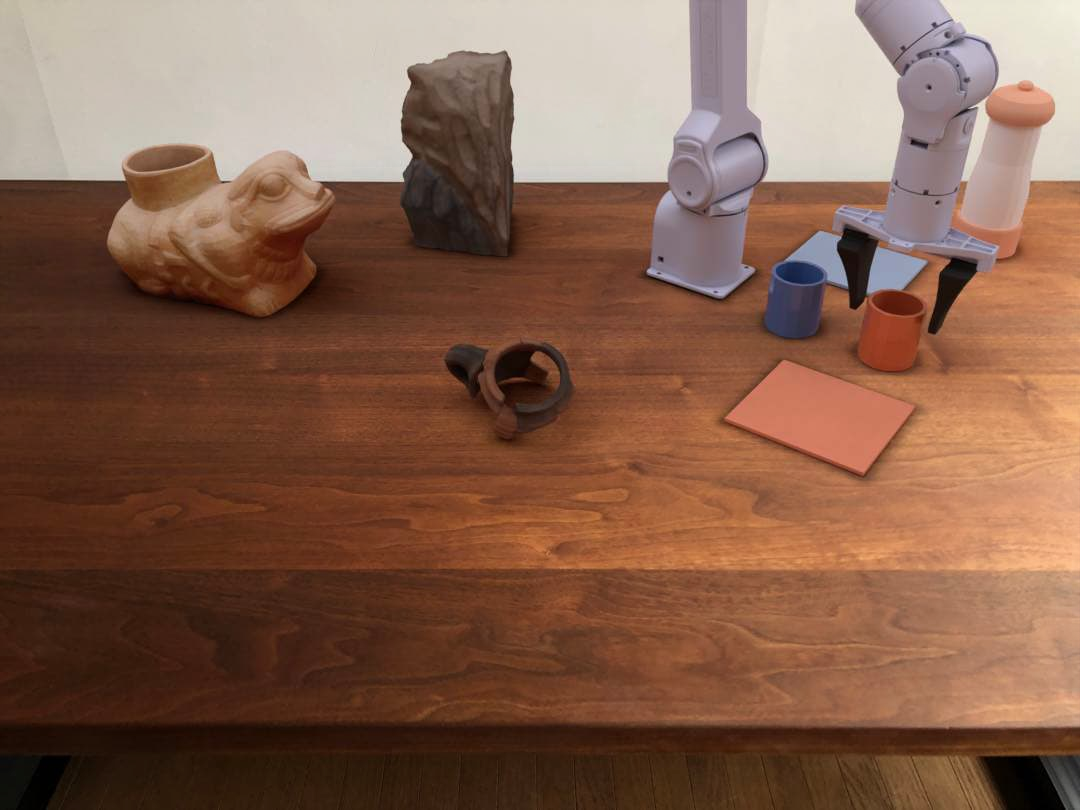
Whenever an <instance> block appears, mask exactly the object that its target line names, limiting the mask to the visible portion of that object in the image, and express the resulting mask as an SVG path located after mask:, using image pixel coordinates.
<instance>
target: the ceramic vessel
mask: <svg viewBox="0 0 1080 810" xmlns="http://www.w3.org/2000/svg"><path fill="white" fill-rule="evenodd" d="M121 170H122V174H123V176H124V180H125V183H126V184H127V187H128V189H129V193H130V197H131V198H129V199H128V200H127V201H126V202H125V203H124V204H123V205H122V206H121V207H120V209H119V210H118V211H117V213H116V214H115V217H114V219H113V222H112V225H111V227H110V230H109V232H108V236H107V238H106V239H107V240H106V245H107V246H106V247H107V250H108V252H109V254H110V256H111V258H112V259H114V260H115V263H116V264H117V265H118V267H119V268H120V269H121V270H122V272H124V274H126V275H127V276H128V277H129V278H130V279H131V280H132V282H134V283H135V285H136V286H137V287H138V289H139V290H140V291H142V292H144V293H147V294H149V295H151V296H152V297H153V296H154V297H155V298H160V299H172V300H175V301H176V300H177V301H179V302H196V303H197V304H201V305H214V306H216V307H220V308H222V309H223V308H224V309H228V310H230V311H234V312H237V313H241V314H244V315H246V316H249V317H252V318H265V317H269V316H271V315H274V314H275V313H276V312H278V311H279V310H282V309H283V308H284V307H286V306H288V305H289V304H290V303H291V302H293V301H294V300H295V299H297V298H298V297H299V296H300V295H301V294H303V293H302V292H304V290H306V288H307V287H308V286H309V284H311V282H312V281H313V280H314V278H316V275H317V273H318V272H317V270H318V269H317V265H316V264H315V262H313V260H312V259H311V258H310V257H309V255H308V254H307V252H306V251H305V249H304V245H305V242H306V240H307V238H308V236H309V235H312V234H313V233H315V232H317V231H319V230H320V228H321V227H322V226H323V224H324V222H325V221H326V220H327V218H328V216H329V215H330V213H331V211H332V210H333V207H334V205H335V202H336V197H335V194H334V193H333V192H332V190H331V189H329V188H326V187H325V186H324V185H323V184H322V183H321V182H318V181H314V180H312V179H311V177H310V175H309V172H308V171H309V170H308V168H307V165H306V162H305V161H304V160H303V159H302V158H301V157H300V156H298V155H297V154H295V153H293V152H291V151H290V150H285V149H281V150H276V151H272V152H270V153H268V154H266V155H264V156H262V157H260V158H259V159H257V160H255V161H254V162H253V163H251V164H250V165H248V166H247V167H246V168H245V169H244V170H243V171H241V173H240V174H239V175H238V176H236V178H234V179H233V180H231V181H230V182H222V181H221V179H220V176H219V174H218V169H217V165H216V162H215V157H214V153H213V151H212V150H211V149H210V148H209V147H207V146H205V145H200V144H196V143H183V142H173V143H172V142H171V143H164V144H155V145H154V144H153V145H149V146H145V147H142V148H140V149H136V150H135V151H132V152H131V153H129V154H127V155H126V156H125V157H124V158H123V160H122V162H121Z"/></svg>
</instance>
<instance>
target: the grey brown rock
mask: <svg viewBox="0 0 1080 810" xmlns="http://www.w3.org/2000/svg"><path fill="white" fill-rule="evenodd" d="M512 70H513V65H512V60H511V57H510V56H509V53H508V51H507V50H505V49H504V50H501V51H499V52H495V53H490V52H478V51H472V50H467V51H466V50H458V51H452V52H449V53H447V56H446V57H444V58H438V59H434V60H433V61H432V62H429V63H426V62H421V63H420V62H419V63H415V64H413V65H410V66H408V67H407V69H406V73H407V74H406V75H407V78H408V80H409V81H410V85H409V88H408V90H407V91H406V94H405V97H404V98H403V99H404V100H403V102H402V107H401V119H400V133H401V142H402V143H403V144H404V146H405V147H406V148H407V149H408V151H409V152H410V154H411V156H412V157H411V159H410V161H409V163H408V165H407V166H406V168H405V169H404V171H403V172H402V178H403V187H402V189H401V192H400V198H399V201H400V202H399V205H400V206H401V207H402V209H403V211H404V213H405V216H406V219H407V221H408V225H409V226H410V230H411V232H412V234H413V238H414V239H413V240H414V243H413V244H414V245H415V246H418V247H422V248H427V249H441V250H442V249H443V250H444V251H447V252H448V251H449V252H452V251H456V252H460V253H461V252H463V253H471V254H473V255H479V256H494V257H495V256H496V257H508V256H509V252H508V247H509V246H508V245H509V242H510V238H511V236H510V234H511V219H512V213H513V206H514V205H513V203H514V193H515V192H514V191H515V190H514V184H515V182H514V181H515V174H514V173H515V172H514V166H513V151H512V134H513V129H514V122H515V103H514V100H515V99H514V98H515V95H514V91H513V87H512V84H511V78H512V77H511V76H512Z"/></svg>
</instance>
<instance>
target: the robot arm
mask: <svg viewBox="0 0 1080 810" xmlns="http://www.w3.org/2000/svg"><path fill="white" fill-rule="evenodd" d="M854 14H855V16H856V17H857V18H858V20H859V21H860V22H861V24H862V25H863V27H864V28H865V29H866V31H867V32H868V34H869V35H870V37H871V38H872V40H873V41H874V42H875V44H876V45H877V46H878V48H879V49H880V51H881V52H882V53H883V55H884V56H885V58H886V59H887V60H888V61H889V63H890V65H891V66H892V68H893V69H894V71H896V73H897V74H898V75H899V76H900V77H898V78H897V80H896V92H897V97H898V100H899V103H900V105H901V107H902V111H903V120H902V124H901V133H900V137H899V141H898V146H897V151H896V155H895V161H894V165H893V171H892V176H891V180H890V184H889V190H888V193H887V194H888V195H887V199H886V203H885V209H884V210H877V209H876V210H875V209H868V208H867V209H866V208H859V207H855V206H849V205H845V204H843V205H841V206H840V207H839V208H838V209H837V210H836V211H834V215H833V222H832V227H831V231H832V232H836V233H839V234H842V235H841V239H840V240H839V241H838V242H837V252H838V254H839V256H840V258H841V261H842V264H843V266H844V270H845V273H846V277H847V283H848V289H847V290H848V302H849V303H848V304H849V305H848V308H849V309H851V310H854V311H857V310H858V308H860V307H861V306H862V305H863V304H864V303H865V300H866V298H867V297H866V296H867V295H866V293H867V288H868V282H869V275H870V269H871V265H872V262H873V258H874V255H875V251H876V248H877V247H878V245H879V241H880V242H884V243H886V244H887V248H888V250H891V251H894V252H898V253H901V254H910V253H911V252H917V253H919V252H920V253H923V254H927V255H930V256H934V257H937V258H941V259H944V260H948V261H949V263H948V264H946V265H944V267H943V268H942V269H941V270H940V272H939V274H938V283H937V289H936V290H937V291H936V298H935V303H934V307H933V310H932V313H931V315H930V319H929V323H928V327H927V333H928V334H930V335H936V334H937V333H938V332H939V331H940V330H941V328H942V327H943V325H944V322H945V319H946V317H947V315H948V313H949V311H950V310H951V308H952V307H953V304H954V303H955V301H956V299H957V298H958V297H959V295H960V294H961V292H962V291H963V290H964V289H965V287H966V286H967V285H968V284H969V282H970V281H971V280H972V279H973V278H974V277H975V275H976V274H977V273H978V272H979V273H983V274H986V275H987V274H989V273H990V272H991V270H993V268H994V267H995V265H996V261H997V259H996V258H997V255H998V251H999V246H996V245H993V244H990V243H987V242H984V241H982V240H979V239H977V238H975V237H972V236H970V235H968V234H966V233H963V232H961V231H959V230H957V229H954V228H953V226H951V223H952V219H953V215H954V211H955V207H956V202H957V199H958V194H959V191H960V186H961V183H962V178H963V174H964V171H965V167H966V162H967V159H968V154H969V150H970V147H971V143H972V138H973V132H974V128H975V124H976V122H977V121H976V120H977V116H978V113H979V107H978V106H976V105H978V104H980V103H981V102H983V101H984V100H985V99H986V98H988V97H989V95H990V94H991V93H992V92H993V91H994V90H995V89H996V86H997V83H998V80H999V75H1000V67H999V61H998V58H997V55H996V54H995V52H994V50H993V47H992V44H991V42H990V41H988V40H987V39H985V38H984V37H981V36H979V35H976V34H970V33H967V29H966V28H965V27H964V25H963V23H961V22H960V21H959V22H956V21H955V20H954V18H953V17H952V16H951V13H949V11H948V10H947V9H946V7H945V6H944V4H943V3H942V2H941V0H855V4H854ZM688 15H689V16H688V17H689V18H688V19H689V53H690V54H689V56H690V58H689V59H690V99H691V110H690V112H689V114H688V115H687V117H686V118H685V119H684V121H683V122H682V124H681V125H680V126H679V127H678V130H676V132H675V134H674V135H673V141H672V142H673V151H672V156H671V159H670V161H669V163H668V167H667V172H666V173H667V183H668V186H669V187H668V188H669V190H668V191H666V193H665V194H664V195H663V196H662V197H661V199H660V201H659V203H658V205H657V207H656V210H655V214H654V218H653V227H652V240H651V241H652V242H651V252H650V253H651V255H650V267H649V268H648V269H647V270H646V275H647V276H649V277H652V278H655V279H658V280H661V281H664V282H667V283H669V284H673V285H676V286H679V287H682V288H685V289H688V290H691V291H694V292H697V293H700V294H703V295H706V296H708V297H711V298H715V299H719V300H723V299H724V298H726V297H727V296H728V295H729V294H730V293H732V292H733V291H734V290H735V289H737V288H738V287H739V286H740V285H741V284H742V283H744V282H745V281H747V279H748V278H750V277H751V276H752V275H754V274H755V273H756V269H755V267H754V266H751V265H747V264H744V263H742V262H743V257H744V255H743V254H744V249H745V248H744V247H745V242H746V241H745V240H746V233H747V225H748V224H747V223H748V216H749V209H750V202H751V201H750V200H751V199H752V198H754V197H753V196H754V191H755V190H754V189H755V187H756V186H758V185H759V184H761V182H763V180H764V179H765V177H766V176H767V173H768V171H769V165H770V164H769V163H770V162H769V161H770V160H769V154H768V153H769V152H768V150H767V146H766V144H765V143H764V140H763V135H762V120H761V119H760V118H759V117H758V116H757V115H756V114H755V113H754V112H752V111H751V110H750V108H749V107H748V0H688Z"/></svg>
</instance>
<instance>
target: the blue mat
mask: <svg viewBox="0 0 1080 810" xmlns="http://www.w3.org/2000/svg"><path fill="white" fill-rule="evenodd" d="M841 237H842V235H838V234H834V233H830V232H827V231H823V230H819V231H818V232H816V233H815V234H814V235H813V236H812V237H810V238H809V239H808V240H807V241H806V242H805V243H803V244H802V245H801V246H800V247H799V248H797V249H796V250H795V251H794V252H793V253H791V254H790V255H789V256H788V257H787V258H786V259H784V261H789V260H799V261H807V262H810V263H814V264H816V265H818V266H820V267H822V268H823V269H824V270H825V271H826V272H827V274H828V275H827V283H826V284H829V285H831V286H835V287H837V288H840V289H841V288H842V289H844V290H848V283H847V277H846V273H845V270H844V266H843V264H842V261H841V258H840V256H839V254H838V252H837V242H838V241H839V240H840V239H841ZM928 263H929V261H928V260H925V259H922V258H919V257H914V256H912V255H909V254H908V255H907V254H906V253H902V252H898V251H895V250H891V249H886V248H883V247H880V246H877V248H876V251H875V255H874V258H873V262H872V265H871V269H870V275H869V282H868V288H867V293H866V296H867V297H869V295H870V294H871V293H873V292H875V291H878V290H883V289H896V290H903V291H904V289H905V288H906V287H907V286H908V285H909V284H910V283H911V282H912V281H913V280H914V278H916V277H917V276H918V274H919V273H920V272H921V271H922V270H923V269H924V268H925V267H926V266H927V265H928Z"/></svg>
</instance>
